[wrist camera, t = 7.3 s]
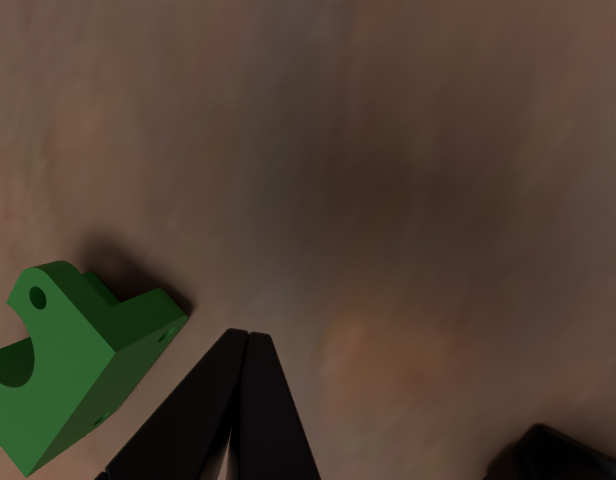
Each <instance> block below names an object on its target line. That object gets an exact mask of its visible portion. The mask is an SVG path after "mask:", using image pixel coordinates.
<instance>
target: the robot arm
mask: <svg viewBox="0 0 616 480" xmlns="http://www.w3.org/2000/svg"><path fill="white" fill-rule="evenodd" d="M248 336H249V337H248ZM233 417H234V418H233ZM231 428H232V429H231ZM230 433H231V435H230ZM543 435H544V437H540V436H543ZM229 437H230V442H229ZM228 442H229V449H228V460H227V474H226V480H321V477H320V475H319V472H318V469H317V466H316V463H315V460H314V457H313V455H312V452H311V449H310V446H309V443H308V440H307V437H306V435H305V432H304V429H303V426H302V423H301V420H300V418H299V415H298V412H297V409H296V406H295V403H294V400H293V398H292V395H291V392H290V389H289V386H288V383H287V381H286V378H285V375H284V372H283V369H282V366H281V363H280V361H279V358H278V355H277V352H276V349H275V346H274V343H273V341H272V338H271V336H270V335H269V334H265V333H259V332H250V334H249V333H248V331H246V330H240V329H234V328H229V329H227V330H226V331H225V332H224V333H223V335H222V336H221V337H220V338H219V339H218V340H217V341H216V342H215V344H214V345H213V346H212V347H211V348H210V349H209V350H208V352H207V353H206V354H205V355H204V356H203V357H202V358H201V359H200V361H199V362H198V363H197V364H196V365H195V366H194V367H193V369H192V370H191V371H190V372H189V373H188V374H187V375H186V376H185V378H184V379H183V380H182V381H181V382H180V383H179V384H178V386H177V387H176V388H175V389H174V390H173V391H172V392H171V393H170V395H169V396H168V397H167V398H166V399H165V400H164V401H163V403H162V404H161V405H160V406H159V407H158V408H157V409H156V410H155V412H154V413H153V414H152V415H151V416H150V417H149V418H148V420H147V421H146V422H145V423H144V424H143V425H142V426H141V427H140V429H139V430H138V431H137V432H136V433H135V434H134V435H133V437H132V438H131V439H130V440H129V441H128V442H127V443H126V444H125V446H124V447H123V448H122V449H121V450H120V451H119V452H118V454H117V455H116V456H115V457H114V458H113V459H112V460H111V461H110V463H109V464H108V465H107V466H106V467H105V472H101V473H100V474H99V475H98V476H97V477H96V478H95V479H94V480H217V479H218V476H219V473H220V470H221V466H222V463H223V460H224V457H225V453H226V450H227V446H228ZM485 480H616V461H615V460H613V459H611V458H609V457H607V456H605V455H603V454H601V453H599V452H597V451H595V450H593V449H591V448H588V447H586V446H584V445H582V444H580V443H578V442H576V441H574V440H572V439H570V438H568V437H566V436H564V435H562V434H560V433H558V432H556V431H554V430H552V429H550V428H548V427H545V426H537V427H534V428H533V429H532V430H531V431H530V432H529V433H528V434H527V435H526V436H525V437H524V438H523V439H522V441H521V442H520V443H519V444H518V445H517V446H516V447H515V448H514V449H513V450H512V451H511V452H510V453H509V454H508V456H507V457H506V458H505V459H504V460H503V461H502V462H501V463H500V464H499V465H498V466H497V467H496V468H495V469H494V471H493V472H492V473H491V474H490V475H489V476H488V477H487V478H486V479H485Z"/></svg>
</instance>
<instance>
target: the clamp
mask: <svg viewBox="0 0 616 480" xmlns="http://www.w3.org/2000/svg"><path fill="white" fill-rule="evenodd" d="M6 303H7V304H8V305H9V306H11V307H12V308H13V309H14V310H15V311H16V312H17V314H18V315H19V316H20V318H21V319H22V321H23V322H24V324H25V326H26V328H27V330H28V332H29V334H30V337H29V338H26V339H24V340H21V341H19V342H16V343H14V344H11V345H9V346H6V347H4V348H1V349H0V446H1V447H2V448H3V449H4V451H5V452H6V453H7V455H8V456H9V457H10V458H11V460H12V461H13V462H14V464H15V465H16V466H17V467H18V469H19V470H20V471H21V472H22V474H23V475H24V476H25V478H27V477H28V476H30V475H31V474H32V473H34V472H35V471H37V470H38V469H39V468H41V467H42V466H44V465H45V464H46V463H48V462H49V461H51V460H52V459H53V458H55V457H56V456H58V455H59V454H60V453H62V452H63V451H65V450H66V449H67V448H69V447H70V446H72V445H73V444H74V443H76V442H77V441H79V440H80V439H81V438H83V437H84V436H86V435H87V434H88V433H90V432H91V431H93V430H94V429H95V428H97V427H98V426H99V425H100V424H102V423H103V422H104V421H105V420H106V419H107V418H108V417H110V416H111V415H112V414H113V413H114V412H115V411H116V410H117V409H118V407H119V406H120V405H121V404H122V402H123V401H124V400H125V399H126V397H127V396H128V395H129V394H130V392H131V391H132V390H133V388H134V387H135V386H136V385H137V383H138V382H139V381H140V380H141V378H142V377H143V376H144V374H145V373H146V372H147V371H148V369H149V368H150V367H151V366H152V364H153V363H154V362H155V361H156V359H157V358H158V357H159V355H160V354H161V353H162V352H163V350H164V349H165V348H166V347H167V345H168V344H169V343H170V341H171V340H172V339H173V338H174V336H175V335H176V334H177V333H178V331H179V330H180V329H181V328H182V326H183V325H184V324H185V322H186V321H187V318H188V316H187V315H186V314H185V313H184V312H183V311H182V310H181V309H180V308H179V307H178V305H177V304H176V303H175V302H174V301H173V300H172V299H171V298H170V297H169V296H168V295H167V294H166V293H165V291H164V290H163V289H162V288H157V289H154V290H151V291H149V292H146V293H144V294H141V295H139V296H136V297H134V298H132V299H129V300H127V301H124V302H122V303H120V302H119V301H118V300H117V299H116V298H115V296H114V295H113V294H112V293H111V292H110V291H109V290H108V289H107V288H106V286H105V285H104V284H103V283H102V282H101V281H100V280H99V279H98V277H97V276H95V275H94V274H93V273H91V272H87V273H84V274H81V273H80V272H79V271H78V270H77V269H76V268H75V267H74V266H73V265H72V264H70V263H68V262H66V261H55V262H51V263H47V264H43V265H39V266H35V267H31V268H27V269H25V270H24V271H23V272H22V273H21V274H20V276H19V278H18V280H17V282H16V284H15V286H14V288H13V290H12V292H11V294H10V296H9V298H8V300H7V302H6Z"/></svg>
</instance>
